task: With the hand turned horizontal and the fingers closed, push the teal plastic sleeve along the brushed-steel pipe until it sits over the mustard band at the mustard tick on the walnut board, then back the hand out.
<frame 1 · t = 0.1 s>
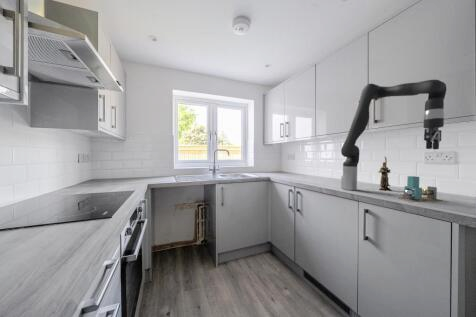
hand: (432, 149, 102), 29 cm above the worktop, tool pointing down, fingers open, 8 cm apart
board: (419, 199, 111), on the worktop
pipe: (419, 192, 111), on the board, point 4 cm above the worktop
sleeve: (413, 187, 110), point 7 cm above the worktop, slide at -4.5 cm
figurine: (385, 190, 142), on the worktop
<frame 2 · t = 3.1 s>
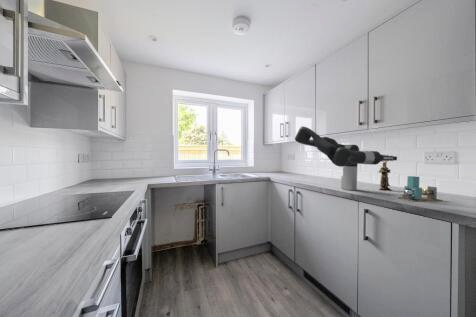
hand: (395, 158, 109), 24 cm above the worktop, tool horizontal, fingers closed
nothing on the worktop moved.
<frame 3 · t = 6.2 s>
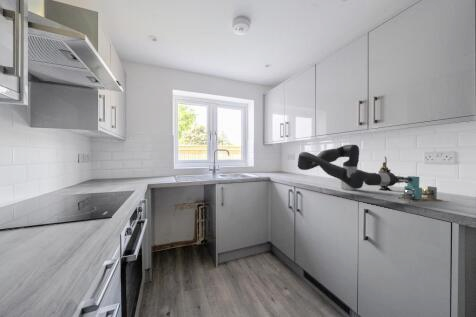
hand: (410, 179, 110), 12 cm above the worktop, tool horizontal, fingers closed
sleeve: (413, 187, 110), point 7 cm above the worktop, slide at -4.5 cm, touching gripper
everything else where it was.
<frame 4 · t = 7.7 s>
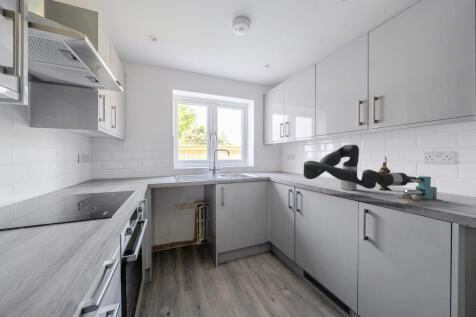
hand: (421, 179, 111), 12 cm above the worktop, tool horizontal, fingers closed
sleeve: (424, 187, 111), point 7 cm above the worktop, slide at 3.0 cm, touching gripper
everything else where it was.
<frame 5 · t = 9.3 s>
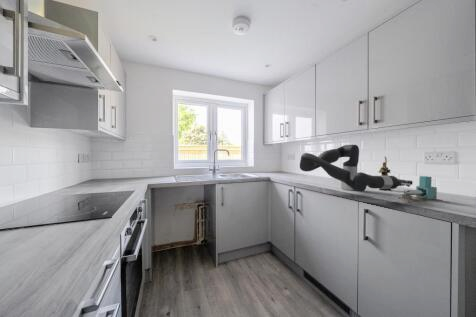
hand: (411, 182, 111), 10 cm above the worktop, tool horizontal, fingers closed
sleeve: (425, 187, 111), point 7 cm above the worktop, slide at 3.5 cm
everything else where it was.
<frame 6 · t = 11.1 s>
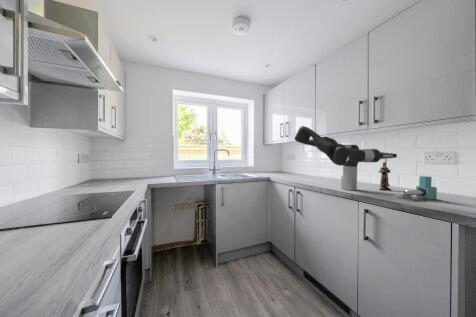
hand: (395, 155, 108), 25 cm above the worktop, tool horizontal, fingers closed
nothing on the worktop moved.
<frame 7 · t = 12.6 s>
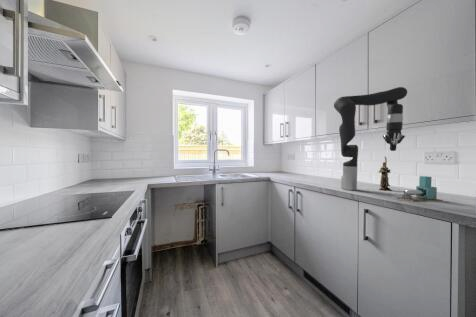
hand: (392, 150, 116), 28 cm above the worktop, tool pointing down, fingers closed
nothing on the worktop moved.
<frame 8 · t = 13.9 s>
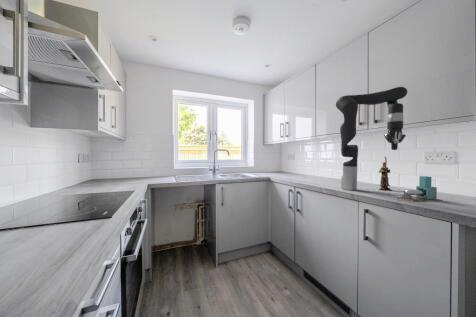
hand: (394, 149, 116), 29 cm above the worktop, tool pointing down, fingers closed
nothing on the worktop moved.
at the end: sleeve slide at 3.5 cm; sleeve touching nothing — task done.
